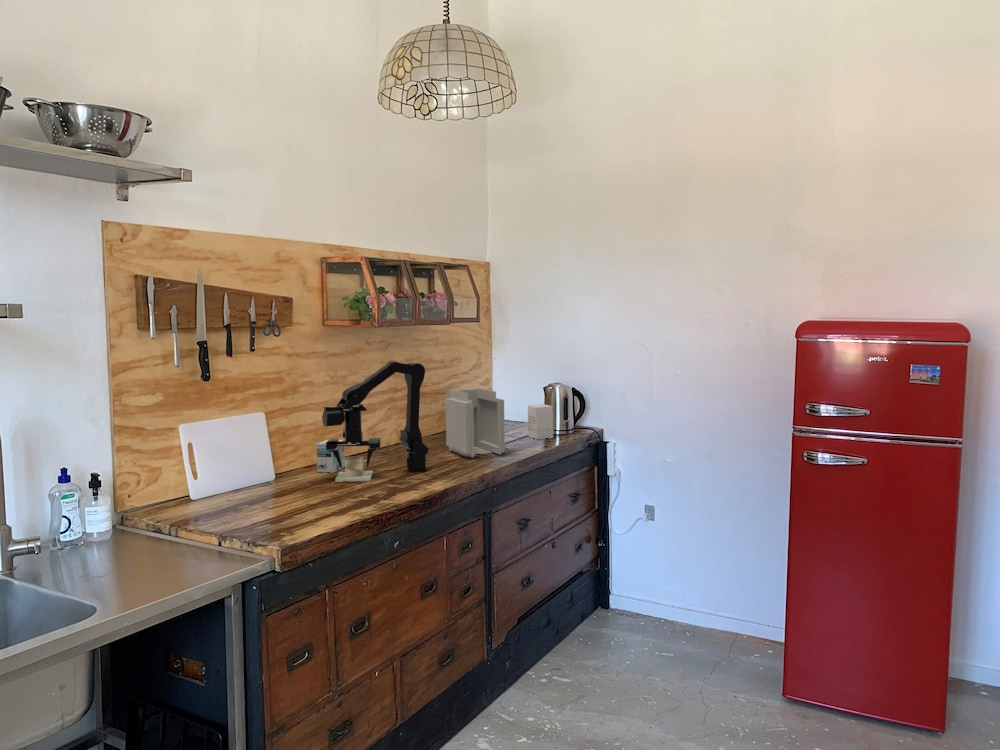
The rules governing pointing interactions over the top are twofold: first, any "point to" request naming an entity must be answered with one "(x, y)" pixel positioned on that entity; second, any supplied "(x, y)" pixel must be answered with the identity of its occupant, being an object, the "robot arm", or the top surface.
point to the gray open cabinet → (475, 422)
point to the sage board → (365, 477)
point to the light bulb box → (328, 458)
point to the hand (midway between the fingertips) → (354, 467)
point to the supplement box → (540, 421)
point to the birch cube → (354, 466)
